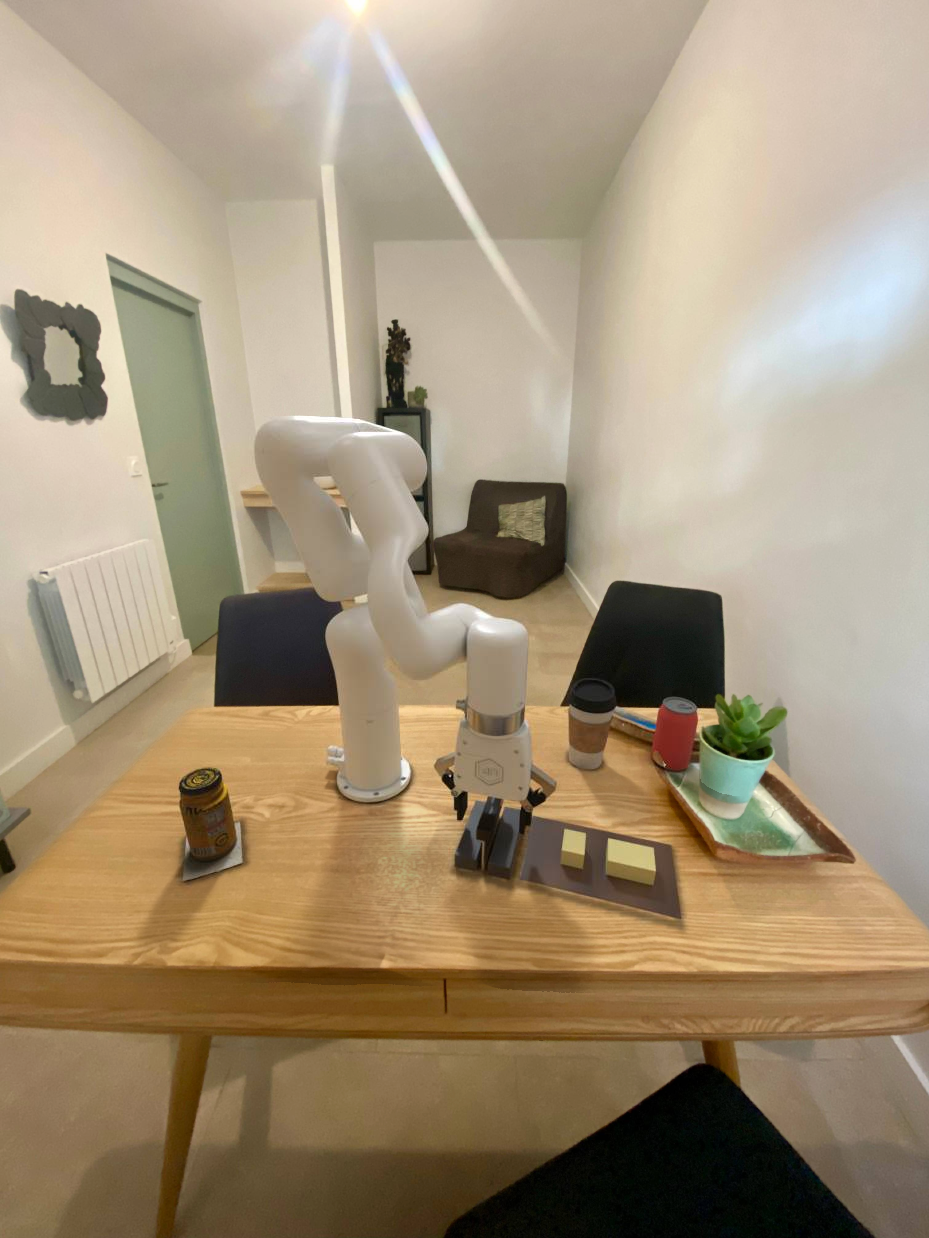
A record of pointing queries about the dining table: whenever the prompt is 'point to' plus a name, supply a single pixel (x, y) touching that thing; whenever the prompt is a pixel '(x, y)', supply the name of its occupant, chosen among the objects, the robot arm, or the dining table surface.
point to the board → (598, 868)
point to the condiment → (208, 824)
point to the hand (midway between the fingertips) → (492, 820)
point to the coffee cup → (589, 721)
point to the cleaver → (488, 825)
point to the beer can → (675, 732)
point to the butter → (630, 861)
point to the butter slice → (573, 848)
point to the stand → (502, 846)
